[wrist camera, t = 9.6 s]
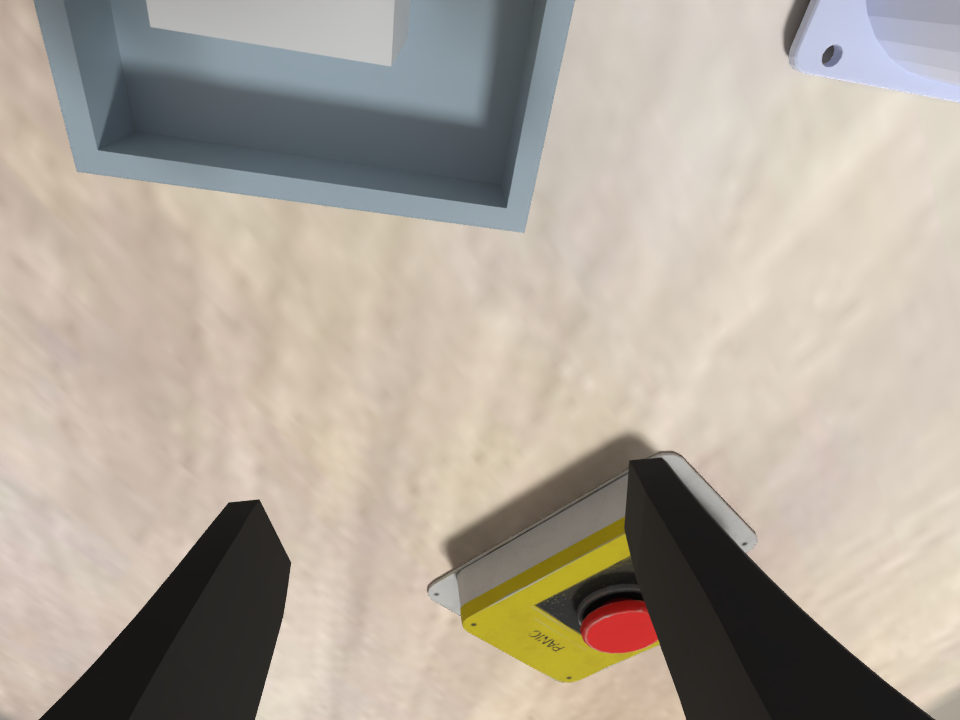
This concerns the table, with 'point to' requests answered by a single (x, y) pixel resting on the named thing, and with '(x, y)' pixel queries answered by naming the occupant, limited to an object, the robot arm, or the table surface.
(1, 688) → the table surface
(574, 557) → the emergency button
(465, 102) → the parts tray
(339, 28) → the block
